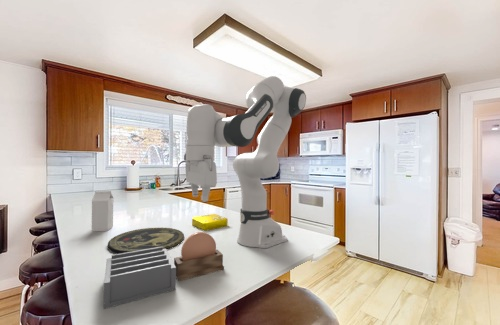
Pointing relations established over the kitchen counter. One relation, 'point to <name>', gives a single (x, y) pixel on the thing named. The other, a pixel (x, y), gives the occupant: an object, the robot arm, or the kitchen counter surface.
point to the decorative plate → (145, 240)
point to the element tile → (209, 222)
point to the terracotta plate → (198, 246)
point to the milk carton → (102, 211)
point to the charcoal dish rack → (138, 276)
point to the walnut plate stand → (198, 266)
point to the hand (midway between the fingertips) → (199, 198)
